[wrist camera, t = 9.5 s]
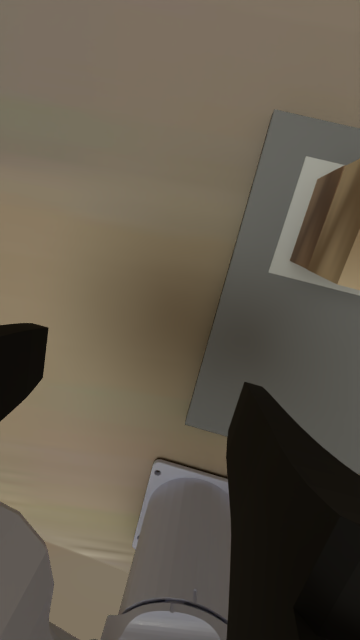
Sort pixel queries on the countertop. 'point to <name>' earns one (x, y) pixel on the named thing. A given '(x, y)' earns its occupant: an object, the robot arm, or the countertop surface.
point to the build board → (286, 301)
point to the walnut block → (315, 217)
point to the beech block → (341, 234)
